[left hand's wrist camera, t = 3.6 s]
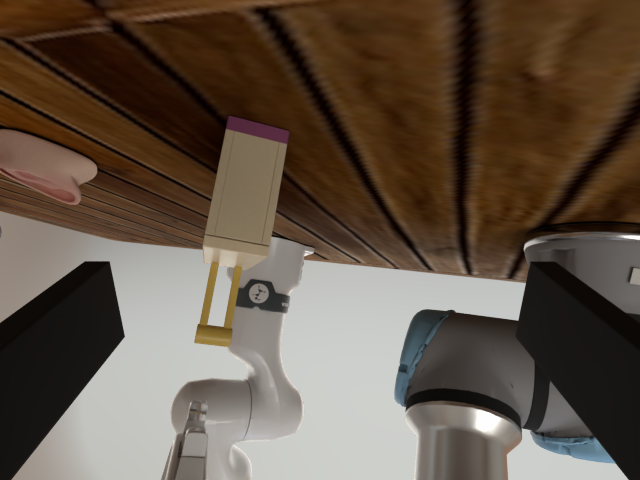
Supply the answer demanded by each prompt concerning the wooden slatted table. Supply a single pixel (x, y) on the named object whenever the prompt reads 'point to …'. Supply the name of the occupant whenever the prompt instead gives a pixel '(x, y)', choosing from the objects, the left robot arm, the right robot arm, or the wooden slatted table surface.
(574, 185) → the wooden slatted table surface
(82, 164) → the anatomical model
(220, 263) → the lid
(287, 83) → the wooden slatted table surface
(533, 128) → the wooden slatted table surface
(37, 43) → the wooden slatted table surface
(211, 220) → the purple-based tan box
